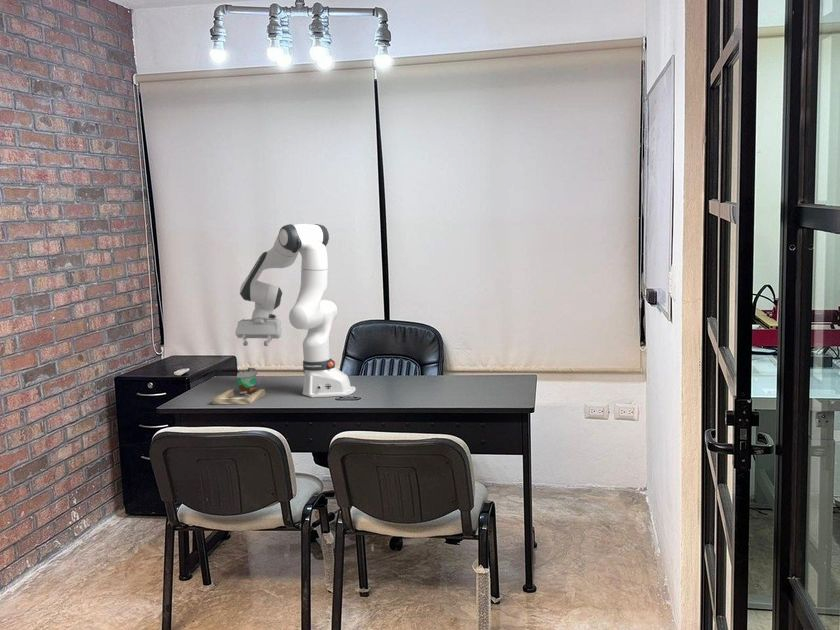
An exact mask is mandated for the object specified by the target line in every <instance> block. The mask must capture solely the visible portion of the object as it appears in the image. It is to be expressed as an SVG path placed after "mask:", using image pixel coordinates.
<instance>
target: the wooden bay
mask: <svg viewBox="0 0 840 630" xmlns="http://www.w3.org/2000/svg"><path fill="white" fill-rule="evenodd" d="M233 395H234V396H235V389H231V388H230V389H227V390H226V391H224V392H222V393H220V394H218V395H217V396H215V397H213V398H212V399H211V401H212V405H213V404H250V405H251V404H253V403H255V402H256V401H257V399H258V400H259V399H261V398H262V397H264V396H265V395H266V390H265V388H260V389H258V390H256V392H255V393H253V394H250V395H247V396H246V397H233ZM263 395H264V396H263ZM231 396H232V397H231ZM229 397H230V398H229ZM260 397H261V398H260ZM255 400H256V401H255ZM254 401H255V402H254ZM252 402H253V403H252Z"/></svg>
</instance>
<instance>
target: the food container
mask: <svg viewBox="0 0 840 630" xmlns="http://www.w3.org/2000/svg"><path fill="white" fill-rule="evenodd" d="M257 375H258V370H257V369H256V368H255V367H247V369H246V370H244V371H242V372H236V379H237V383H238V389H239V396H246V395H245V394H250V395H251V394H252V393H255V392H256V391H257Z"/></svg>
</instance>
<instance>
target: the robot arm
mask: <svg viewBox="0 0 840 630" xmlns="http://www.w3.org/2000/svg"><path fill="white" fill-rule="evenodd" d="M329 240H330V235H329V231H328V229H327V227H326V226H325V225H322V224H318V223H317V224H316V223H315V224H311V223H296V224H291V223H290V224H289V223H288V224H286V225H283V226H281V228H280V229H279V232H278V235H277V237H276V239H275V241H274V243H273V246H272V248H270V249H269V250H268V251H263V252H262V253H261V255H260V256H259V257H258V259H257V260H256V262H255V264H254V265H253V267H252V268H251V270H250V272H249V274H248V275H247V276H246V278H245V280H243V282H242V283H241V286H240V287H239V295H240V297H241V298H242V299H243V300H244V301H247V302H254V309H253V311H252V315H251V318H250V319H249V318H248V319H245V318H244V319H241V320H239V321H238V322H237V327H236V329H235V336H236V337H237V338H238V339H242V340H243V341H242V345H243V346H248V343H249V342H248V340H247V339H265V340H264V341H263V346H264V347H268V346H269V343H271V342H272V340H273V339H276V340H277V339H280V338H281V336H282V321H281V318H280V316H278V315H277V314H273V311H274V310H275V309H277V308H278V307H280V305H281V301H282V300H281V299H282V296H283V291H282V289H281V288H280V286H277V285H274V284H271V283H267V282H263V281H260V280H258V279H259V277H260V276H261V274H262V272H264V271H265V270H268V269H269V270H270V269H285V268H288V267H291V266H292V265H293V264H294V263H295V262H296V260H297V258H298V255H299V253H300V256H301V266H300V267H301V268H300V273H301V274H300V286H299V287H300V288H299V292H298V296H297V298H296V300H295V301H296V302H295V303H294V305H293V307H292V308H291V309H290V310H289V314H288V320H289V323H290V325H291V326H292V327H293V328H294V329H296V330H304V331H305V330H307V333H306V336H305V338H304V339H303V340H302V352H303V353H302V354H303V360H302V370H303V371H302V372H303V378H304V379H303V388H302V392H301V393H302V395H303V396H307V397H309V398H326V397H345V396H349V395H352V394H354V393H355V392H356V389H357V388H356V387H355V386H354V385H353V386H351V382H350V378H349V376H348V375H347V374H346V373H344V372H343V371H341V370H340V369H338V368H337V367H336V359H332V358H331V353H330V352H331V350H330V337H331V336H330V335H331V331H332V329H333V328H332V327H333V324H334V322H335V320H336V319H337V317H338V307H337V305H336V303H335V302H333V301H332V300H329V299H322V298H323V296H324V294H325V292H326V291H327V289H328V287H329V286H328V285H329V282H328V281H329V259H328V258H329V257H328V251H327V247H326V246H327V245H328V243H329Z"/></svg>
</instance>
